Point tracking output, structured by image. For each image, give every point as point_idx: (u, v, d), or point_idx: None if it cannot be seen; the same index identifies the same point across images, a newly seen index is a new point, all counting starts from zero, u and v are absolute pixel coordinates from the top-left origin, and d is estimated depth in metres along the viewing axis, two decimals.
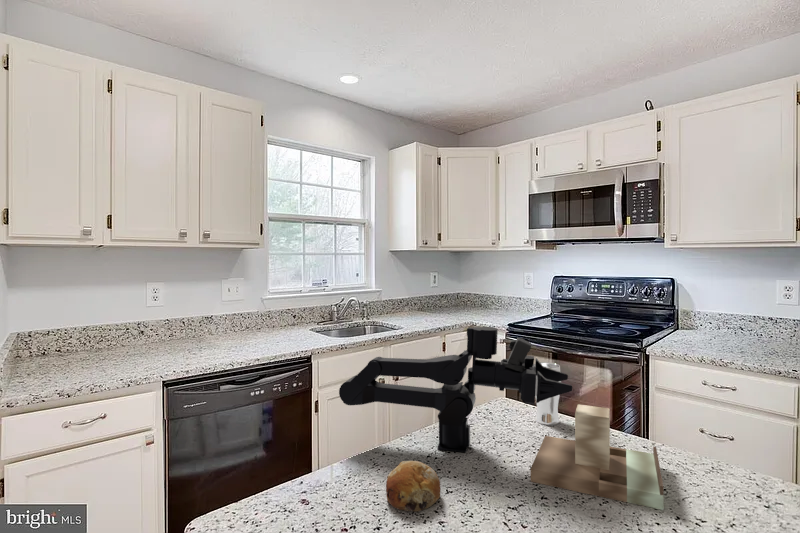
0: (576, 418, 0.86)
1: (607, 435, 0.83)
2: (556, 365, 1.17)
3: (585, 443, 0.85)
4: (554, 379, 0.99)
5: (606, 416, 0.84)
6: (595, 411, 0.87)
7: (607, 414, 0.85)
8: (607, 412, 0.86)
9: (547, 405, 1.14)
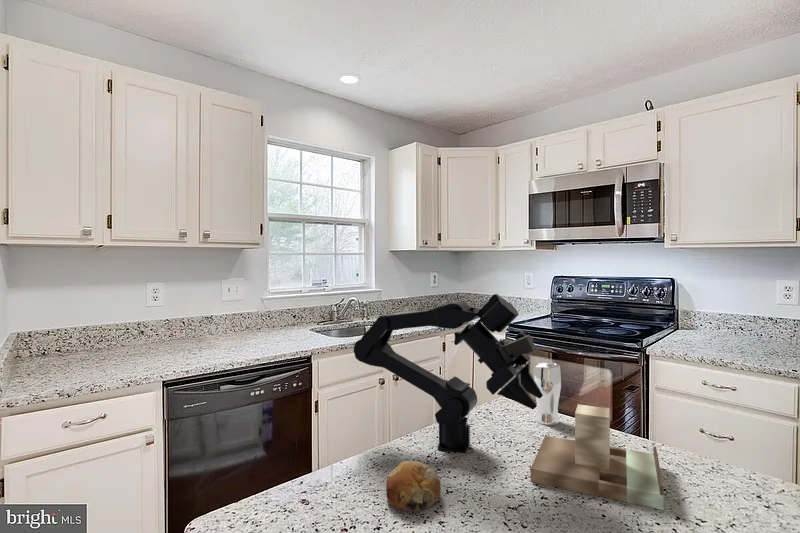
0: (576, 418, 0.86)
1: (607, 435, 0.83)
2: (556, 365, 1.17)
3: (585, 443, 0.85)
4: (529, 389, 0.97)
5: (606, 416, 0.84)
6: (595, 411, 0.87)
7: (607, 414, 0.85)
8: (607, 412, 0.86)
9: (547, 405, 1.14)
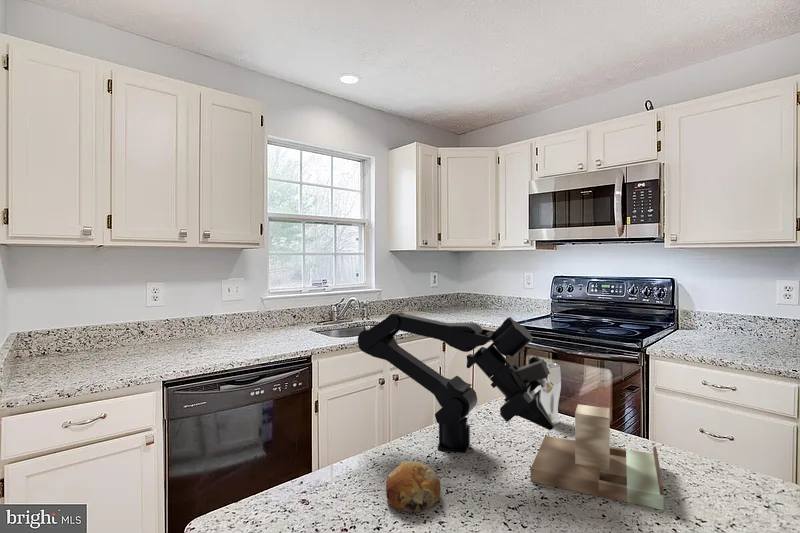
0: (576, 418, 0.86)
1: (607, 435, 0.83)
2: (556, 365, 1.17)
3: (585, 443, 0.85)
4: None
5: (606, 416, 0.84)
6: (595, 411, 0.87)
7: (607, 414, 0.85)
8: (607, 412, 0.86)
9: (547, 405, 1.14)
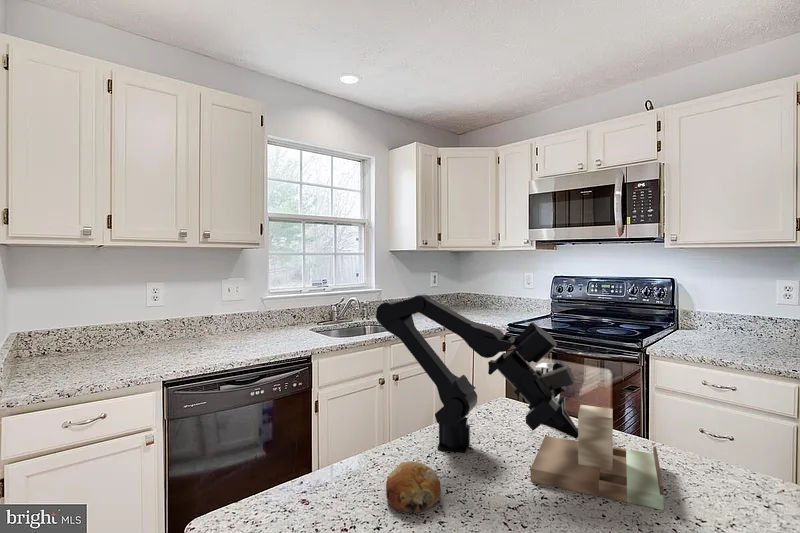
0: (579, 418, 0.86)
1: (610, 435, 0.83)
2: None
3: (588, 443, 0.85)
4: None
5: (610, 416, 0.84)
6: (598, 412, 0.86)
7: (610, 414, 0.85)
8: (610, 412, 0.86)
9: None
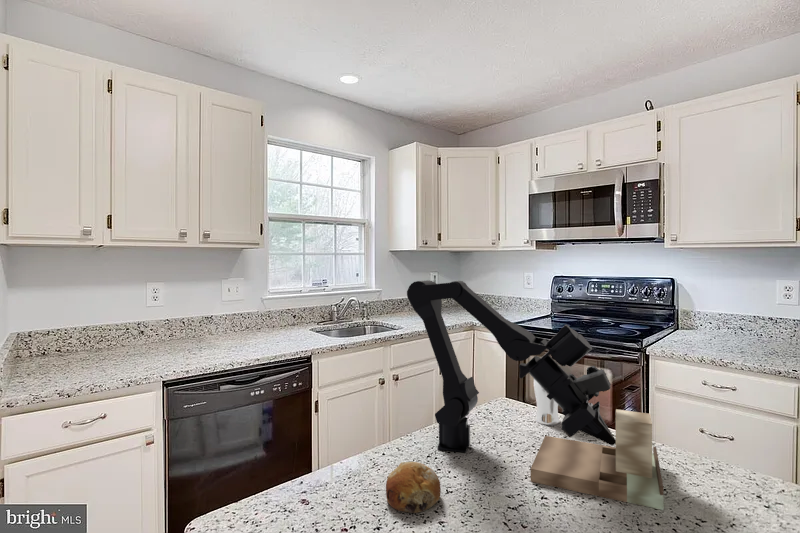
0: (617, 424, 0.83)
1: (650, 442, 0.80)
2: None
3: (626, 449, 0.82)
4: None
5: (649, 422, 0.81)
6: (636, 417, 0.83)
7: (649, 420, 0.82)
8: (649, 418, 0.83)
9: (547, 405, 1.14)
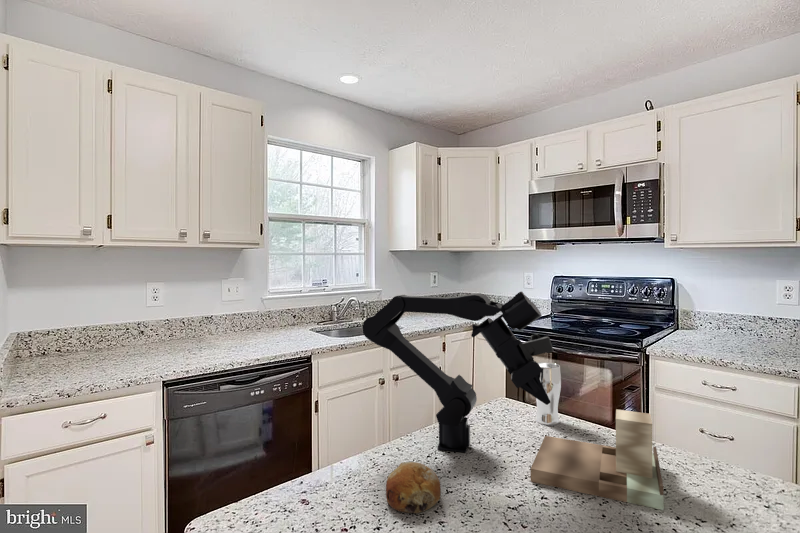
0: (617, 424, 0.83)
1: (650, 442, 0.80)
2: (556, 365, 1.17)
3: (627, 449, 0.82)
4: None
5: (649, 422, 0.81)
6: (636, 417, 0.83)
7: (649, 420, 0.82)
8: (649, 418, 0.83)
9: (547, 405, 1.14)
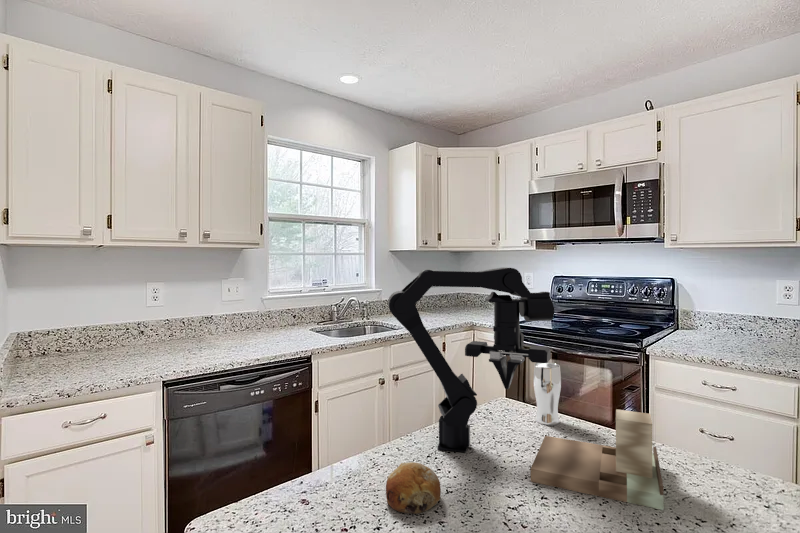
0: (617, 424, 0.83)
1: (650, 442, 0.80)
2: (556, 365, 1.17)
3: (627, 449, 0.82)
4: (505, 377, 1.01)
5: (649, 422, 0.81)
6: (636, 417, 0.83)
7: (649, 420, 0.82)
8: (649, 418, 0.83)
9: (547, 405, 1.14)
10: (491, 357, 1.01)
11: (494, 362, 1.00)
